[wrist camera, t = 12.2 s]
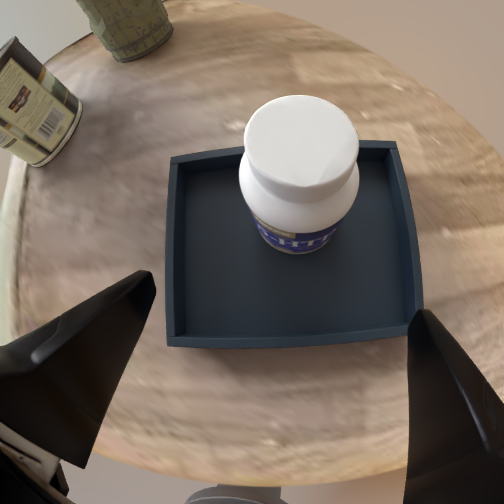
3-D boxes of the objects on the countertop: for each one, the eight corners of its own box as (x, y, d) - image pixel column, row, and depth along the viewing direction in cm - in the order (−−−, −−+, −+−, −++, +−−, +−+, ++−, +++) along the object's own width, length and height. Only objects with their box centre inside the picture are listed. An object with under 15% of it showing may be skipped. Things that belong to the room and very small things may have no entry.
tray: (406, 328, 16) (424, 331, 13) (184, 340, 18) (166, 346, 15) (384, 160, 18) (395, 141, 15) (184, 174, 20) (170, 156, 17)
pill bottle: (253, 255, 17) (215, 208, 8) (256, 177, 18) (228, 85, 9) (339, 256, 16) (386, 210, 8) (336, 177, 17) (363, 86, 8)
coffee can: (45, 110, 26) (-13, 61, 12) (93, 89, 24) (31, 20, 11) (20, 174, 24) (-54, 132, 10) (65, 160, 23) (-26, 97, 9)
